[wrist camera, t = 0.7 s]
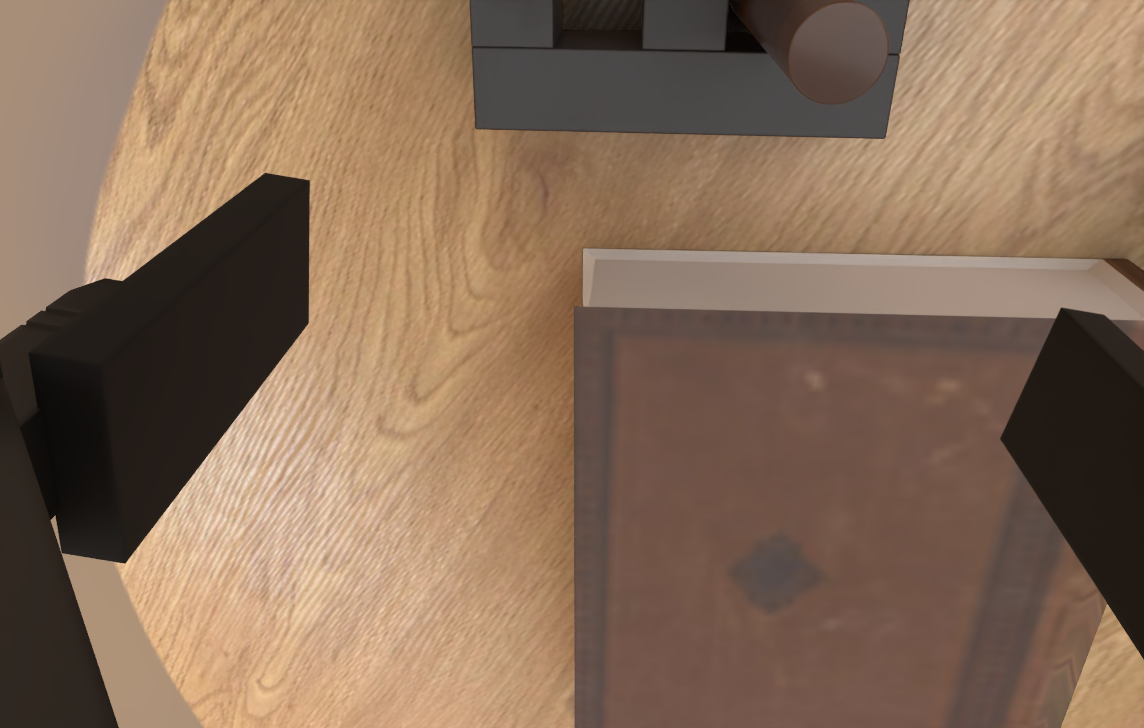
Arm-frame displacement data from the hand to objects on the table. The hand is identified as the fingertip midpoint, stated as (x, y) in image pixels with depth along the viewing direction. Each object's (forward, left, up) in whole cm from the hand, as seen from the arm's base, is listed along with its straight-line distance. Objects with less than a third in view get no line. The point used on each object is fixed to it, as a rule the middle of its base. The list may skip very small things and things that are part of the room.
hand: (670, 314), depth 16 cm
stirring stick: (-3, +4, -24) cm, 25 cm away
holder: (-3, +1, -24) cm, 25 cm away
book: (+22, +10, -25) cm, 34 cm away
